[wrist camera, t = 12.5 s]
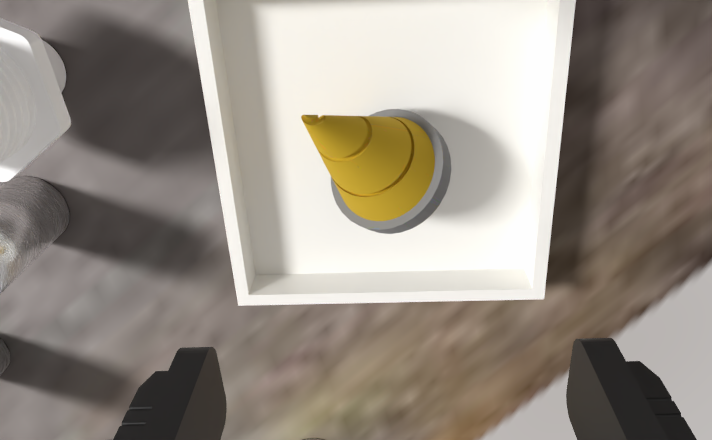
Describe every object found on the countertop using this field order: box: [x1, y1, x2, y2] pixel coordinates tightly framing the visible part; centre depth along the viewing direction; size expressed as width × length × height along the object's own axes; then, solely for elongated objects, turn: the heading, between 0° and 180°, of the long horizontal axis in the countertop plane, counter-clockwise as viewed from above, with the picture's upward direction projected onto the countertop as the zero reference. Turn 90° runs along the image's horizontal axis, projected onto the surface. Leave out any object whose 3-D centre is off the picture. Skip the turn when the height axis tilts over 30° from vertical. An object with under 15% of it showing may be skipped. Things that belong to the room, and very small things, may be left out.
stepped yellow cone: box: [301, 109, 451, 234], centre depth 25 cm, size 5×5×10 cm
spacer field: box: [0, 176, 322, 440], centre depth 31 cm, size 22×23×8 cm
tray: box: [188, 0, 576, 306], centre depth 27 cm, size 15×15×2 cm
